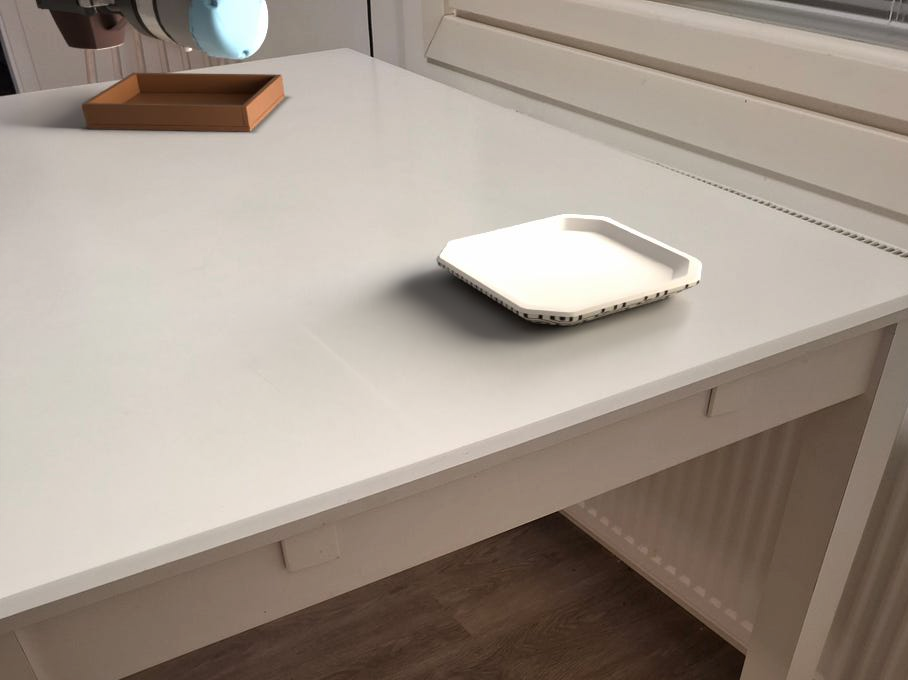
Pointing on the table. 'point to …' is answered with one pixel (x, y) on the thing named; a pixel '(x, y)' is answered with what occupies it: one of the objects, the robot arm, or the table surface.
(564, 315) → the plate
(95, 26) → the cup
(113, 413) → the table surface
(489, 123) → the table surface
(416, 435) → the table surface
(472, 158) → the table surface
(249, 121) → the tray
